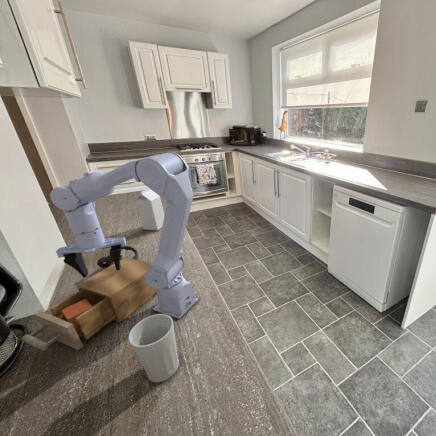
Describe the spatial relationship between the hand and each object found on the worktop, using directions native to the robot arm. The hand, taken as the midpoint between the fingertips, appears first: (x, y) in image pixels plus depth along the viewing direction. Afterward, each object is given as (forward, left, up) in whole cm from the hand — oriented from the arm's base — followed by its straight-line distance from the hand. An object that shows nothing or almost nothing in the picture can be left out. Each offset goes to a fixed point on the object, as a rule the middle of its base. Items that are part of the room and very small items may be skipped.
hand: (102, 271), depth 68 cm
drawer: (-3, +10, -10) cm, 14 cm away
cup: (-30, +11, -11) cm, 34 cm away
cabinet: (-3, -2, -10) cm, 11 cm away
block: (-3, +10, -8) cm, 13 cm away
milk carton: (+29, -42, -10) cm, 52 cm away
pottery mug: (+14, -13, -11) cm, 22 cm away
